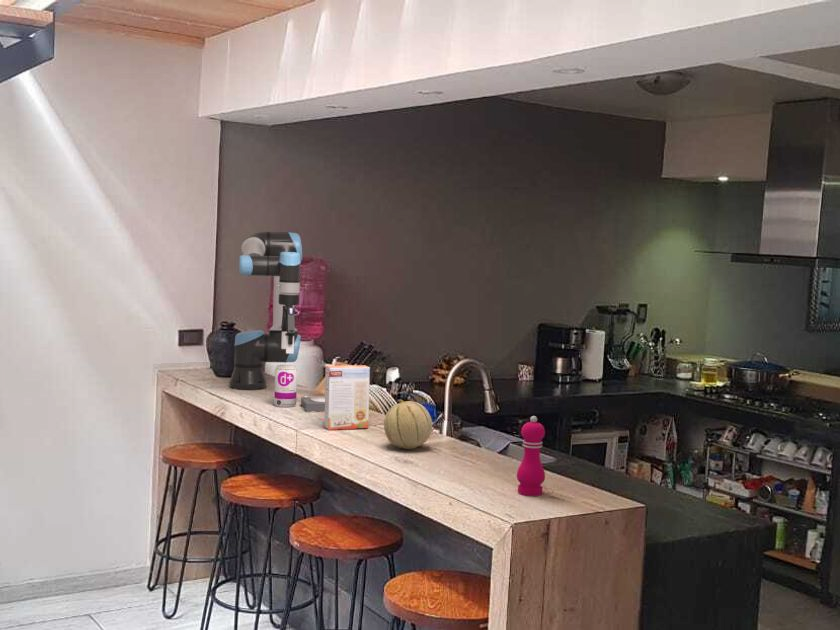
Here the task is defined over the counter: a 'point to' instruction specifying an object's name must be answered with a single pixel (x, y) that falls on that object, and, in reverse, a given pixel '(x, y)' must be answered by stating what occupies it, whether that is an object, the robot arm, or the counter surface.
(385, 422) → the cantaloupe
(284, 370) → the supplement can
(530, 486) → the pepper mill
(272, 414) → the counter surface
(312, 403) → the grey flat block
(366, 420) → the cracker box
